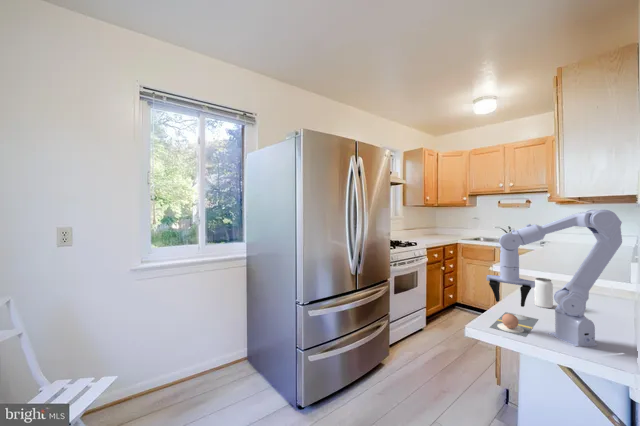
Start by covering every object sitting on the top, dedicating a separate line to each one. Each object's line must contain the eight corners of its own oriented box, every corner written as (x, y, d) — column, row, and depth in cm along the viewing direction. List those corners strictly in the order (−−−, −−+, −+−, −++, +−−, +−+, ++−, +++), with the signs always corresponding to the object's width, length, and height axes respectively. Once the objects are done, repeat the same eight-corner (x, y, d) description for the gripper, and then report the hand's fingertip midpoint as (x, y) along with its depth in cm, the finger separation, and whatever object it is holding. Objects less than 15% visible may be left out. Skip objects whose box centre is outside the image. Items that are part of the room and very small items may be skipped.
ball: (522, 330, 99) (522, 316, 99) (509, 331, 98) (509, 316, 98) (511, 324, 104) (511, 311, 104) (498, 325, 103) (498, 311, 103)
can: (556, 309, 121) (556, 281, 121) (539, 308, 122) (539, 280, 122) (547, 304, 127) (547, 277, 127) (531, 303, 129) (531, 277, 129)
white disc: (529, 332, 98) (529, 331, 98) (508, 333, 97) (508, 333, 97) (511, 323, 106) (511, 322, 106) (492, 324, 105) (492, 323, 105)
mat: (525, 338, 94) (525, 336, 94) (489, 328, 102) (489, 327, 102) (538, 320, 109) (538, 318, 109) (505, 313, 117) (505, 311, 117)
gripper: (536, 267, 99) (537, 305, 99) (490, 262, 109) (490, 296, 109) (532, 270, 94) (533, 310, 94) (484, 264, 104) (484, 301, 104)
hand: (509, 303), depth 101 cm, fingers open, 7 cm apart
